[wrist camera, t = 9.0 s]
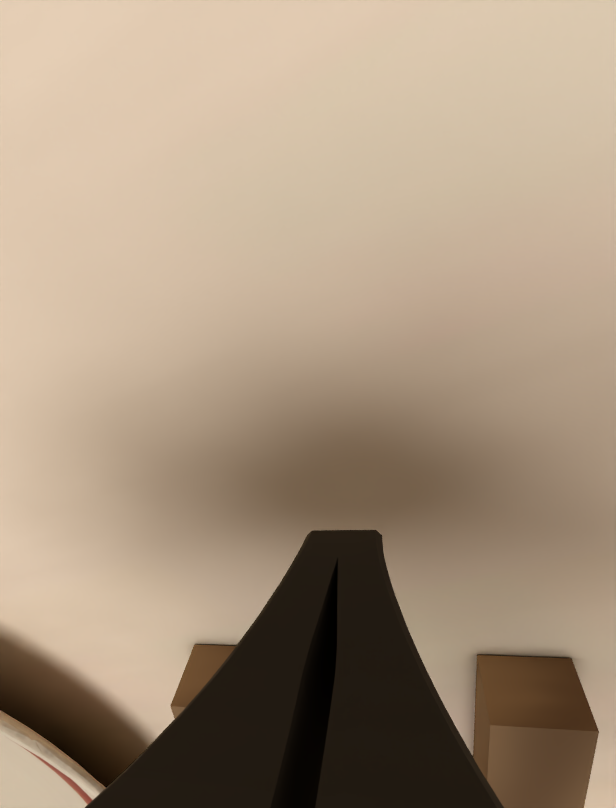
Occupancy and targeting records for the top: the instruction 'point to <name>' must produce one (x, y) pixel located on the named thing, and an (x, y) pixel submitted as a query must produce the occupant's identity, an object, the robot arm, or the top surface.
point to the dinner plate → (39, 771)
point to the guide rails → (498, 725)
